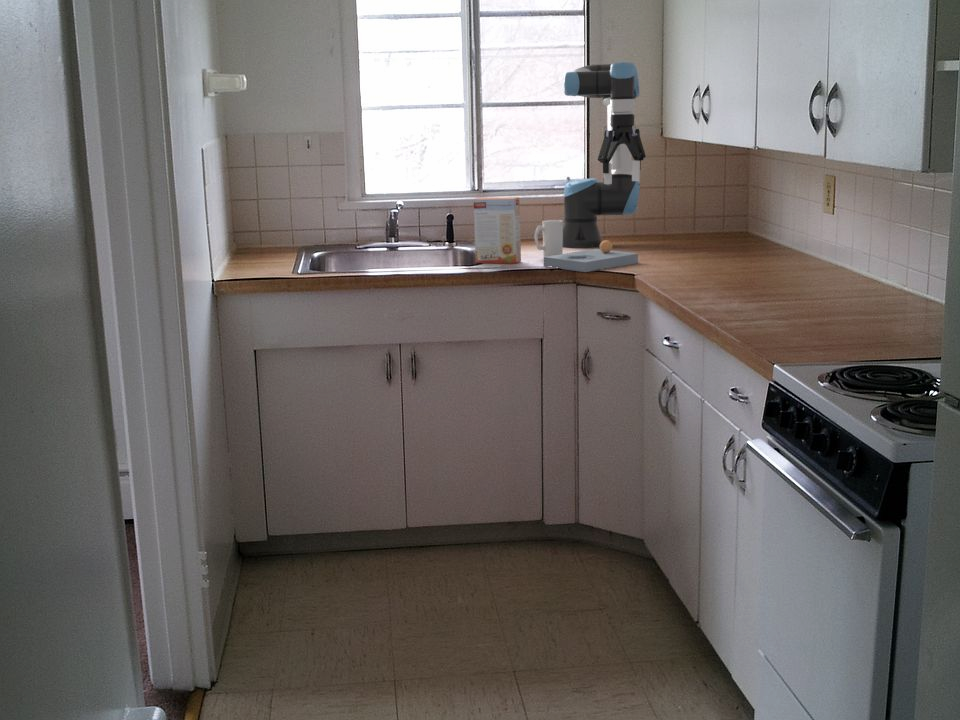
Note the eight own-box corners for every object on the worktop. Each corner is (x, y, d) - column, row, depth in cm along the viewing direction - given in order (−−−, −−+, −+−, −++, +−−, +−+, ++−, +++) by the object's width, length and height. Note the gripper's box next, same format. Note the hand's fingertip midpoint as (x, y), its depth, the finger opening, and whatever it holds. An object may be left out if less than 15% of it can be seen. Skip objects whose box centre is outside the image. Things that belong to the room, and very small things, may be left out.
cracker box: (521, 261, 339) (520, 196, 334) (516, 264, 334) (515, 198, 329) (480, 260, 344) (478, 196, 339) (474, 263, 338) (473, 198, 333)
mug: (557, 255, 351) (557, 219, 349) (566, 257, 345) (566, 221, 342) (530, 257, 348) (529, 221, 345) (539, 260, 342) (538, 223, 339)
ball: (605, 251, 335) (605, 239, 334) (614, 252, 332) (614, 240, 331) (597, 252, 332) (597, 240, 331) (606, 254, 329) (606, 241, 328)
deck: (595, 257, 343) (595, 248, 342) (637, 262, 329) (637, 253, 329) (543, 266, 327) (543, 257, 327) (585, 272, 314) (585, 262, 313)
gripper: (639, 112, 337) (638, 179, 342) (586, 114, 322) (586, 184, 327) (657, 112, 332) (656, 180, 337) (604, 114, 316) (604, 185, 321)
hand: (622, 182), depth 332 cm, fingers open, 12 cm apart
